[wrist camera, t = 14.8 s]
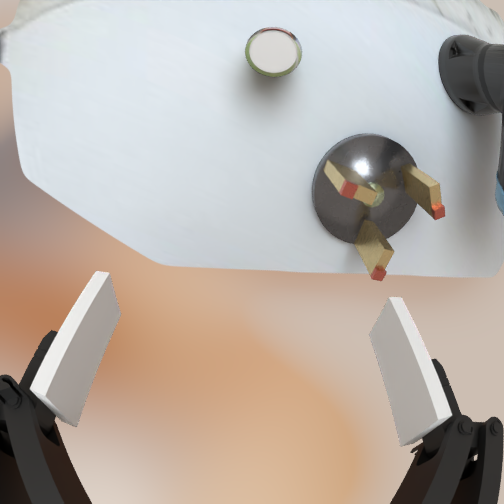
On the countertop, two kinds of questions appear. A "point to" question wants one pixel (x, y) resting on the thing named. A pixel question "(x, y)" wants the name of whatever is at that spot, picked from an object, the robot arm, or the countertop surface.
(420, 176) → the knob
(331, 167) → the knob
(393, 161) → the tribrach plate
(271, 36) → the beverage can
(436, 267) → the countertop surface
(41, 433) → the robot arm
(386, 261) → the knob
